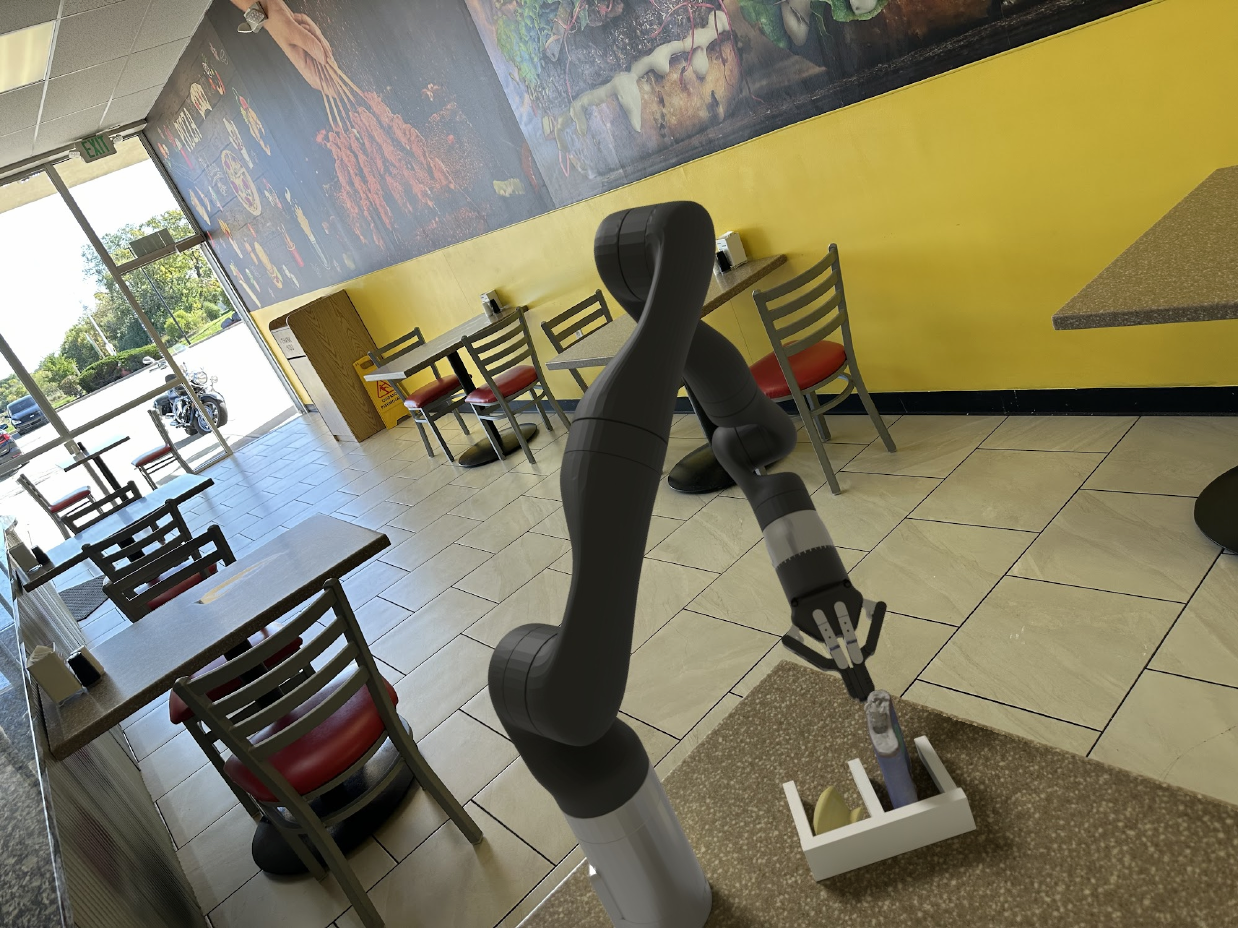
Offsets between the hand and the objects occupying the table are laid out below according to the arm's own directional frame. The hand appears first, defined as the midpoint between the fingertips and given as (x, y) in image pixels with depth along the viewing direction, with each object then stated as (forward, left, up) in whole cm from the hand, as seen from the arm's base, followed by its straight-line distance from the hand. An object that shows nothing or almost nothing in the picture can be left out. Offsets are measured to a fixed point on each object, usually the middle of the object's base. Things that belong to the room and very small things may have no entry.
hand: (866, 700), depth 86 cm
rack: (-4, -10, -5) cm, 12 cm away
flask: (0, -8, -5) cm, 9 cm away
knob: (-7, -11, -5) cm, 14 cm away
